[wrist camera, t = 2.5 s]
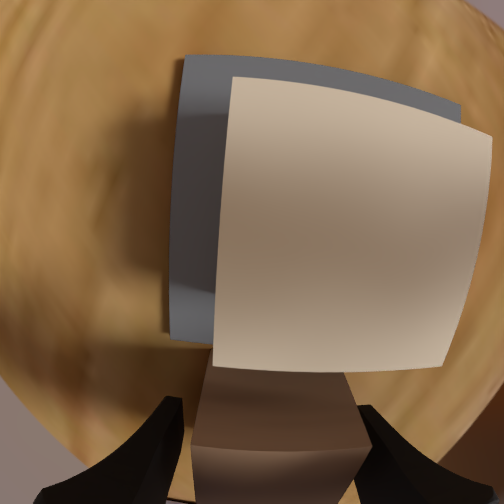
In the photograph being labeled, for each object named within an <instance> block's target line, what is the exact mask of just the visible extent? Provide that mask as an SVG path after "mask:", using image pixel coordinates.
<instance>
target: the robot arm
mask: <svg viewBox="0 0 504 504" xmlns="http://www.w3.org/2000/svg"><path fill="white" fill-rule="evenodd" d="M357 408H358V410H359V413H360V415H361V418H362V420H363V423H364V426H365V428H366V431H367V433H368V436H369V439H370V441H371V444H372V448H371V450H370V451H369V453H368V455H367V457H366V459H365V460H364V462H363V464H362V466H361V467H360V469H359V471H358V472H357V474H356V476H355V477H354V482H355V485H356V488H357V492H358V495H359V499H360V503H361V504H498V503H499V498H498V496H497V495H496V493H495V491H494V489H493V488H492V487H491V486H488V485H485V484H481V483H478V482H474V481H471V480H469V479H466V478H464V477H461V476H459V475H457V474H455V473H453V472H451V471H449V470H447V469H445V468H443V467H442V466H440V465H438V464H437V463H435V462H433V461H432V460H431V459H429V458H428V457H426V456H425V455H423V454H422V453H421V452H419V451H418V450H417V449H416V448H415V447H413V446H412V445H411V444H410V443H409V442H408V441H406V440H405V439H404V438H403V437H402V436H401V435H400V434H399V433H398V432H397V431H396V430H395V429H394V428H393V427H392V426H391V425H390V424H389V423H388V422H387V421H386V420H385V419H384V418H383V417H382V416H381V415H380V414H379V413H378V412H377V411H376V410H375V409H374V408H373V407H372V406H371V405H358V406H357ZM183 436H184V419H183V405H182V398H178V397H171V396H166V397H164V399H163V400H162V402H161V403H160V404H159V406H158V407H157V408H156V409H155V411H154V412H153V413H152V414H151V416H150V417H149V418H148V419H147V420H146V421H145V422H144V423H143V425H142V426H141V427H140V428H139V429H138V430H137V431H136V432H135V433H134V434H133V435H132V436H131V437H130V438H129V439H128V440H127V441H126V442H125V443H123V444H122V445H121V446H120V447H119V448H118V449H116V450H115V451H114V452H113V453H111V454H110V455H109V456H107V457H106V458H105V459H103V460H102V461H100V462H99V463H97V464H96V465H94V466H92V467H91V468H89V469H87V470H86V471H84V472H82V473H80V474H78V475H76V476H74V477H72V478H70V479H68V480H65V481H63V482H60V483H57V484H55V485H52V486H49V487H46V488H43V489H42V490H41V492H40V493H39V494H38V495H37V497H36V499H35V500H34V502H33V504H186V503H180V502H174V501H169V500H167V496H168V492H169V489H170V485H171V482H172V479H173V476H174V472H175V469H176V466H177V463H178V459H179V456H180V453H181V448H182V442H183Z"/></svg>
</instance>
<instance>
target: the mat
mask: <svg viewBox="0 0 504 504" xmlns="http://www.w3.org/2000/svg"><path fill="white" fill-rule="evenodd" d="M233 77H247V78H260V79H270V80H280V81H288V82H296V83H303V84H310V85H316V86H322V87H328V88H334V89H339V90H344V91H349V92H354V93H358V94H363V95H367V96H372V97H376V98H380V99H384V100H388V101H391V102H395V103H399V104H402V105H406V106H409V107H413V108H416V109H419V110H422V111H426V112H429V113H432V114H435V115H438V116H441V117H443V118H446V119H449V120H452V121H454V122H457V123H460V124H461V105H459V104H457V103H454V102H452V101H449V100H447V99H444V98H441V97H439V96H436V95H433V94H430V93H428V92H425V91H422V90H419V89H416V88H413V87H409V86H406V85H403V84H400V83H396V82H393V81H389V80H386V79H382V78H378V77H374V76H370V75H366V74H362V73H358V72H353V71H349V70H344V69H339V68H334V67H329V66H323V65H317V64H311V63H305V62H298V61H290V60H282V59H273V58H262V57H250V56H233V55H185V61H184V67H183V75H182V82H181V90H180V98H179V107H178V116H177V126H176V136H175V147H174V160H173V174H172V190H171V211H170V241H169V315H170V339H172V340H179V341H187V342H196V343H204V344H213V339H214V315H215V294H216V275H217V257H218V241H219V226H220V212H221V198H222V185H223V173H224V161H225V150H226V139H227V128H228V118H229V108H230V98H231V88H232V79H233Z"/></svg>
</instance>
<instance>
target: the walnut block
mask: <svg viewBox="0 0 504 504" xmlns="http://www.w3.org/2000/svg"><path fill="white" fill-rule="evenodd" d="M371 448H372V444H371V441H370V439H369V436H368V433H367V431H366V428H365V426H364V423H363V420H362V418H361V415H360V413H359V410H358V408H357V405H356V403H355V400H354V397H353V395H352V392H351V390H350V387H349V385H348V383H347V380H346V378H345V375H344V373H343V372H291V371H269V370H253V369H240V368H228V367H218V366H213V349H211V350H210V355H209V360H208V364H207V369H206V373H205V378H204V383H203V387H202V392H201V397H200V401H199V406H198V411H197V416H196V421H195V425H194V430H193V435H192V440H191V458H192V469H193V480H194V490H195V499H196V504H338V502H339V501H340V499H341V498H342V496H343V495H344V493H345V492H346V490H347V488H348V487H349V485H350V484H351V482H352V481H353V479H354V477H355V476H356V474H357V472H358V471H359V469H360V467H361V466H362V464H363V462H364V460H365V459H366V457H367V455H368V453H369V451H370V450H371Z"/></svg>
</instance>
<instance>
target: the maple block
mask: <svg viewBox="0 0 504 504" xmlns="http://www.w3.org/2000/svg"><path fill="white" fill-rule="evenodd" d="M491 156H492V137H491V136H489V135H487V134H485V133H482V132H480V131H477V130H475V129H473V128H470V127H468V126H465V125H462V124H460V123H457V122H454V121H452V120H449V119H446V118H443V117H441V116H438V115H435V114H432V113H429V112H426V111H422V110H419V109H416V108H413V107H409V106H406V105H402V104H399V103H395V102H391V101H388V100H384V99H380V98H376V97H372V96H367V95H363V94H358V93H354V92H349V91H344V90H339V89H334V88H328V87H322V86H316V85H310V84H303V83H296V82H288V81H280V80H270V79H260V78H247V77H233V79H232V88H231V98H230V108H229V118H228V128H227V139H226V150H225V161H224V173H223V185H222V198H221V212H220V226H219V241H218V257H217V275H216V294H215V315H214V339H213V366H218V367H228V368H240V369H253V370H269V371H291V372H369V371H391V370H406V369H418V368H429V367H439V366H442V364H443V362H444V359H445V357H446V354H447V352H448V349H449V347H450V344H451V342H452V339H453V336H454V333H455V331H456V328H457V325H458V322H459V319H460V316H461V313H462V310H463V307H464V304H465V300H466V297H467V294H468V290H469V287H470V283H471V279H472V276H473V272H474V268H475V264H476V259H477V255H478V250H479V246H480V241H481V236H482V230H483V225H484V219H485V213H486V206H487V199H488V190H489V181H490V170H491Z"/></svg>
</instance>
